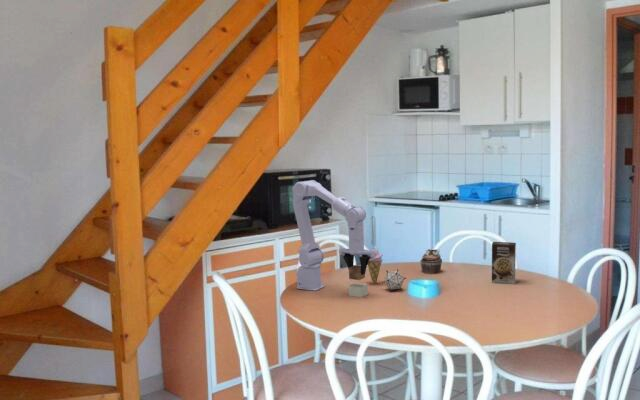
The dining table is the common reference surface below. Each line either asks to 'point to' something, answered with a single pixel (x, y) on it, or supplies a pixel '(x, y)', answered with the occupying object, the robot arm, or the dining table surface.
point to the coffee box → (503, 262)
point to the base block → (358, 290)
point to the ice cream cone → (375, 265)
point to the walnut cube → (355, 273)
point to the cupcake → (431, 262)
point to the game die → (394, 280)
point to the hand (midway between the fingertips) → (357, 273)
